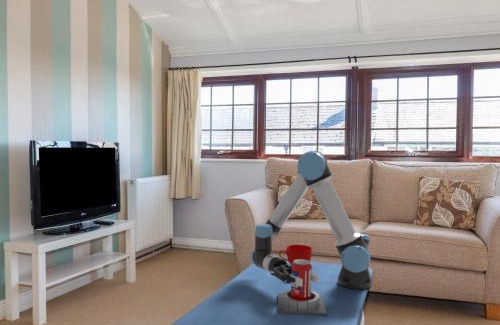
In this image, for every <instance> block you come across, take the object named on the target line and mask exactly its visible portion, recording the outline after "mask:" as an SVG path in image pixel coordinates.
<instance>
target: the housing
mask: <svg viewBox="0 0 500 325" xmlns="http://www.w3.org/2000/svg"><path fill="white" fill-rule="evenodd" d="M277 307H278V308H277V312H278V314H286V315H287V314H288V315H308V316H328V311H327V309H326V308H327V307H326V304H325V302H324V299H323V296H322V294H319V293H318V292H316V291H314V290H311V298H310V299H309V300H296V299H292V298H291V288H290V289H287V290H285V291H283V293H282V292H281V293H279V292H278V293H277Z"/></svg>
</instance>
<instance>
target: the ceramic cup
mask: <svg viewBox="0 0 500 325" xmlns="http://www.w3.org/2000/svg"><path fill="white" fill-rule="evenodd" d="M283 252H285V253H286V258H285V257H283V256H282V253H283ZM278 255H279V256H278V257H280V258H282V259H284V260H285V261H286V262H289V265H292V263H293V261H294V260H297V259H304V260H308V261H310V262H311V260H312V255H313V248H312V247H311V246H310V245H304V244H289V245H287V246H286V250H285V249H281V250H279V252H278Z"/></svg>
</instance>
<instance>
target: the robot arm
mask: <svg viewBox="0 0 500 325" xmlns="http://www.w3.org/2000/svg"><path fill="white" fill-rule="evenodd" d="M296 173H297V175H296V177H295V179H293V181H292V183H291V185H290V186H289V187H288V189H287V190H286V192H285V194H284V195H283V196H282V198H281V199H280V201H279V203H278V204H277V206H276V207H275V208H274V210H273V212H272V213H271V214H270V216H269V217H268V219H267V220H266V222H265V223H258V224H256V225H255V230H254V235H255V236H254V250H252V252H251V253H250V256H249V257H250V261H251V263H252V264H253V265H254V266H255V267H258V268H260V269H262V270H264V271H266V272H268V273H270V275H271V276H273V277H275V278H277V279H278V280H279V281H280V282H286V283H287V284H291V282H292V283H294V284H296V285H298V286H300V287H302V281H303V279H301V278H299V277H295V276H293V275H291V264H290V263H289V264H288V261H286V260H284V259H282V258H281V257H280V256H277V255H274V254H272V252H273V250H272V247H273V241H274V239H275V238H277V236H278V235H279V232H281V229H282V228H283V226H284V225H285V223H286V222H287V221H288V219H289V218H290V216H291V215H292V213H293V212H294V210H295V209H296V207H297V206H298V204H299V203H300V201H301V200H302V199H303V197H304V196H305V194H306V192H307V191H308V189H312V190H313V193H314V195H315V197H316V199H317V201H318V203H319V205H320V208H321V209H322V213H323V214H324V216H325V218H326V221H327V223H328V225H329V227H330V229H331V231H332V233H333V235H334V237H335V239H336V241H335V248H336V250H337V252H338V254H339V257H340V263H341V267H340V270H339V273H338V276H337V284H338V285H339V286H342V287H344V288H348V289H353V290H354V289H355V290H365V289H370V288H371V287H372V284H373V283H372V282H373V280H372V276H371V273H370V269H369V265H370V263H371V254H370V242H371V240H370V236H369V235H368V234H366V233H365V234H364V233H359V232H357V231H356V230H355V229H354V226H353V224H352V222H351V220H350V218H349V216H348V213H347V212H346V209H345V207H344V206H343V203H342V201H341V198H340V197H339V195H338V193H337V190H336V188H335V187H334V185H333V182H332V178H333V174H332V172H331V170H330V167H329V165H328V160H327V157H326V156H325V154H323V153H322V152H320V151H316V150H309V151H307V152H305V153H303V154H301V156H300V157H299V158H298V161H297V171H296ZM319 277H320V276H319V275H317V274H314V273H313V272H312V274H311V282H314V283H316V284H319V279H320V278H319Z"/></svg>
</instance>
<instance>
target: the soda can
mask: <svg viewBox="0 0 500 325" xmlns="http://www.w3.org/2000/svg"><path fill="white" fill-rule="evenodd" d="M312 268H313V267H312V265H311V260H310V261H308V260H304V259H297V260H294V261H293V264H292V266H291V275H293V276H295V277H299V278H301V279H303V281H302V287H300V286H298V285H296V284H294V283H292V282H290V289H291V298H292V299H296V300H309V299H310V298H311V291H312V281H311V274H312V273H313V272H312V271H313V269H312ZM291 275H290V276H291Z"/></svg>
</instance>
